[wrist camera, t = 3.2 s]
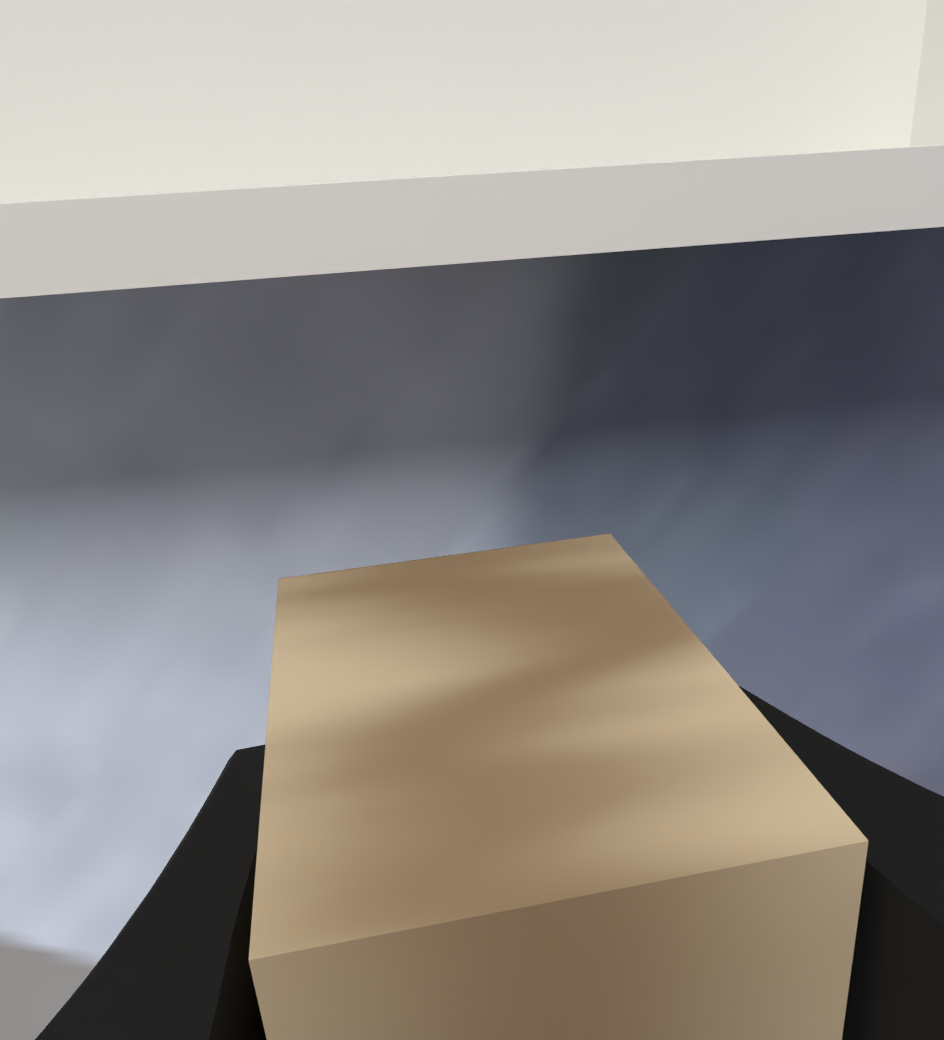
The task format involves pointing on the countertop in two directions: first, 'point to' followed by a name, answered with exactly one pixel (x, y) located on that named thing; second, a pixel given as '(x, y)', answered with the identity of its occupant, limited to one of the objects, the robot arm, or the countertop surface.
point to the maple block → (534, 817)
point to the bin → (450, 132)
